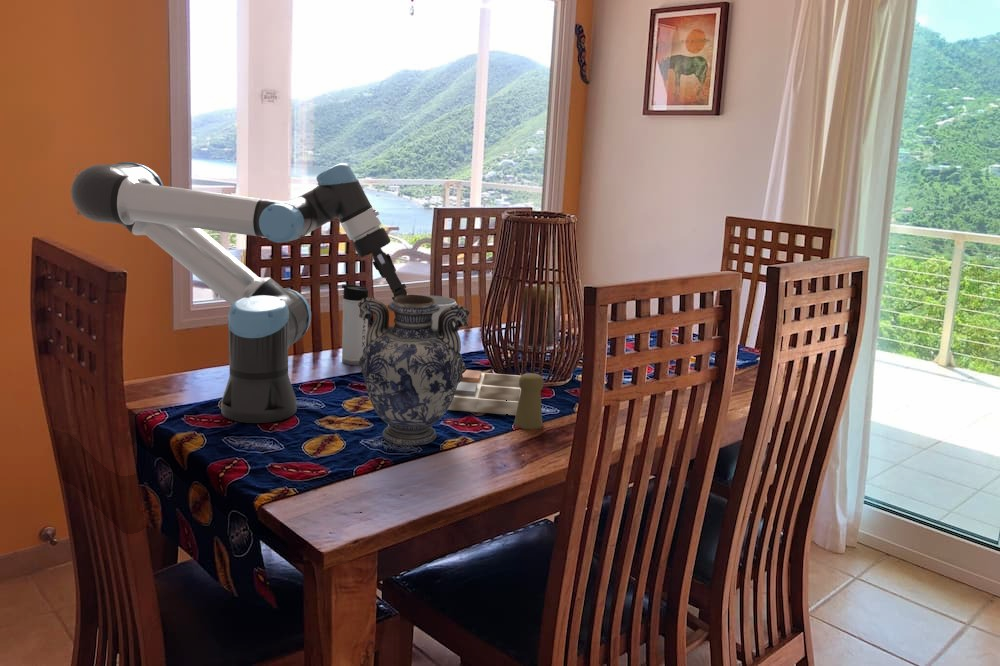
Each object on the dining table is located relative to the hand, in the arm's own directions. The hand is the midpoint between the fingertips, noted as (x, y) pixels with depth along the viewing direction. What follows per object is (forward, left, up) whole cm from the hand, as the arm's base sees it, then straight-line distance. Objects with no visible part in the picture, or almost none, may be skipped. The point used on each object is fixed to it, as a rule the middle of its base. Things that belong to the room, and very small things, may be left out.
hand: (415, 320), depth 180 cm
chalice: (-2, +40, -19) cm, 44 cm away
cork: (+26, -8, -19) cm, 33 cm away
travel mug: (-20, +27, -19) cm, 39 cm away
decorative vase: (+3, -21, -19) cm, 28 cm away
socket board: (+16, +7, -19) cm, 26 cm away
